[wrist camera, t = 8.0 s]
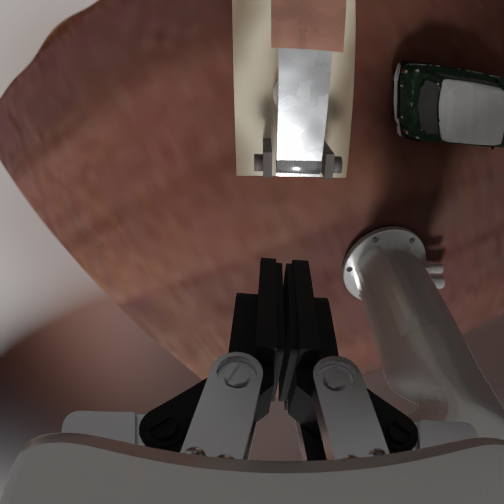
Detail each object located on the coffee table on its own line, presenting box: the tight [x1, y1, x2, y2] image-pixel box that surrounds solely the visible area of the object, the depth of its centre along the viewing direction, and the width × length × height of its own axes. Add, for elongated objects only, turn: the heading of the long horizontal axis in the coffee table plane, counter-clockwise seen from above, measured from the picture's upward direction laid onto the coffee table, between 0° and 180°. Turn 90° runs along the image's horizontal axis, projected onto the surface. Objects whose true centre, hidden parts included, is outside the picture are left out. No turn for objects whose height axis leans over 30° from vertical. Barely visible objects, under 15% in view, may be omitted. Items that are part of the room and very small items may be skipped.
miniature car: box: [394, 61, 504, 150], centre depth 25 cm, size 9×18×8 cm, turn 98°
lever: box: [271, 0, 347, 177], centre depth 21 cm, size 20×5×3 cm, turn 1°
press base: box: [232, 0, 356, 179], centre depth 25 cm, size 12×22×7 cm, turn 1°
